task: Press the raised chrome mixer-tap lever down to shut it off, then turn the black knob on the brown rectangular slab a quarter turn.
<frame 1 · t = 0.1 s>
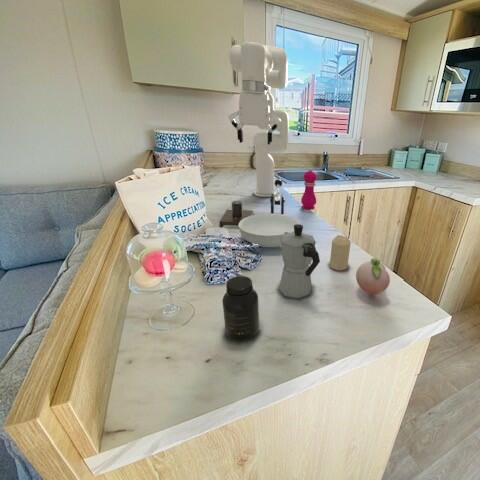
hand: (255, 143, 97), 31 cm above the countertop, tool pointing down, fingers open, 9 cm apart
pepper mill: (308, 210, 132), on the countertop
tap bracket: (277, 223, 113), on the countertop
candle: (338, 266, 85), on the countertop
decorative fruit: (369, 293, 73), on the countertop
serving bowl: (269, 241, 98), on the countertop
tap lever: (278, 191, 112), point 12 cm above the countertop, hinge at 28.0°
supplement bottle: (242, 330, 58), on the countertop
brown rectangular slab: (237, 221, 112), on the countertop
tap knob: (237, 208, 110), point 5 cm above the countertop, hinge at 0.0°
coffee maker: (297, 291, 72), on the countertop
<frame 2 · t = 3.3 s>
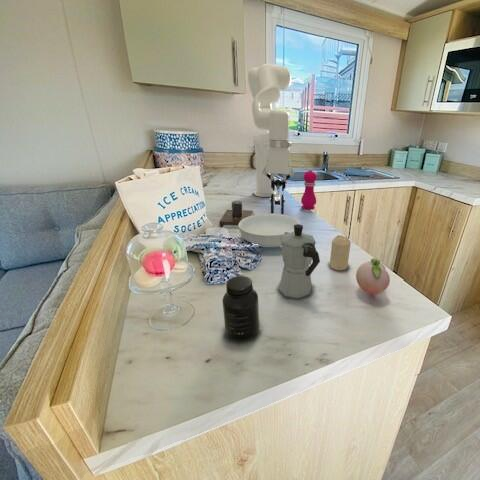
hand: (278, 189, 116), 12 cm above the countertop, tool pointing down, fingers closed on tap lever, 3 cm apart
tap lever: (278, 191, 112), point 12 cm above the countertop, hinge at 28.0°, touching gripper
everything else where it was.
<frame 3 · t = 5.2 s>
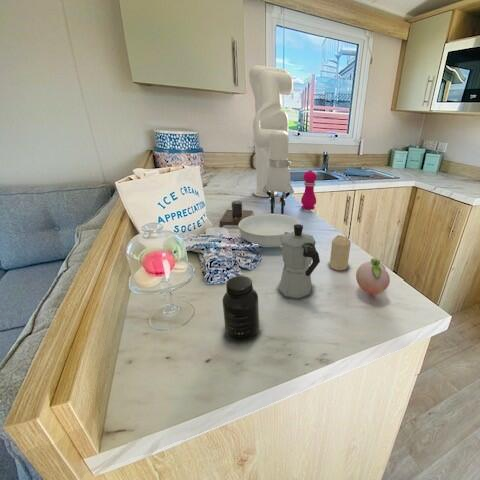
hand: (278, 206, 120), 4 cm above the countertop, tool pointing down, fingers closed on tap lever, 3 cm apart
tap lever: (277, 199, 114), point 9 cm above the countertop, hinge at -14.5°, touching gripper
everything else where it was.
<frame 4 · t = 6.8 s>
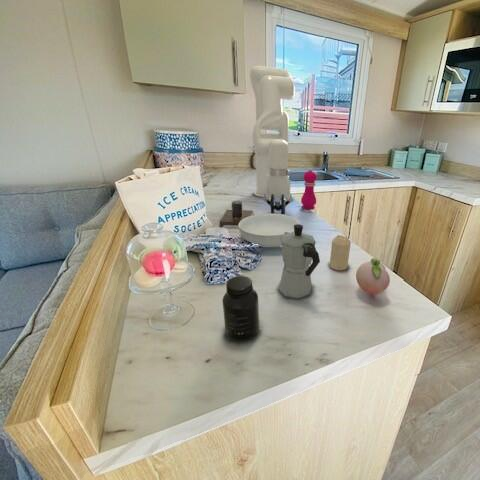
hand: (278, 214, 120), 1 cm above the countertop, tool pointing down, fingers closed on tap lever, 3 cm apart
tap lever: (277, 203, 114), point 7 cm above the countertop, hinge at -34.1°, touching gripper
everything else where it was.
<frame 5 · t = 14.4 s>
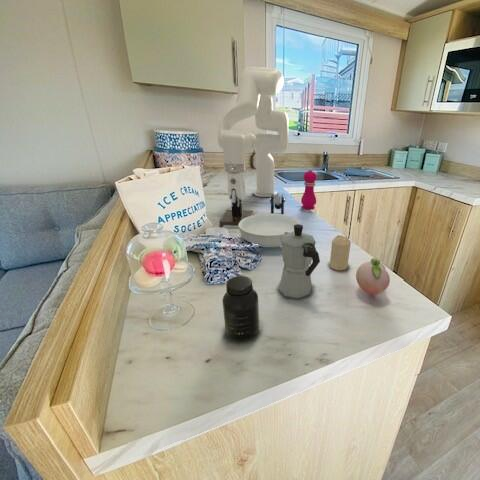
hand: (237, 213, 111), 3 cm above the countertop, tool pointing down, fingers closed on tap knob, 4 cm apart
tap lever: (277, 203, 114), point 7 cm above the countertop, hinge at -30.5°
tap knob: (237, 208, 110), point 5 cm above the countertop, hinge at 0.1°, touching gripper
everything else where it was.
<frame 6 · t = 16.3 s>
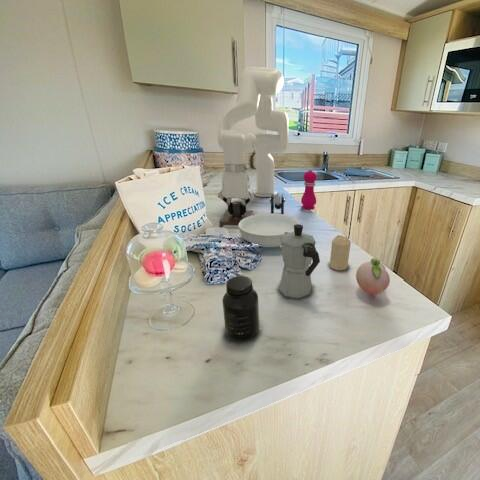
hand: (237, 213, 111), 3 cm above the countertop, tool pointing down, fingers closed on tap knob, 4 cm apart
tap knob: (237, 208, 110), point 5 cm above the countertop, hinge at 90.6°, touching gripper
everything else where it was.
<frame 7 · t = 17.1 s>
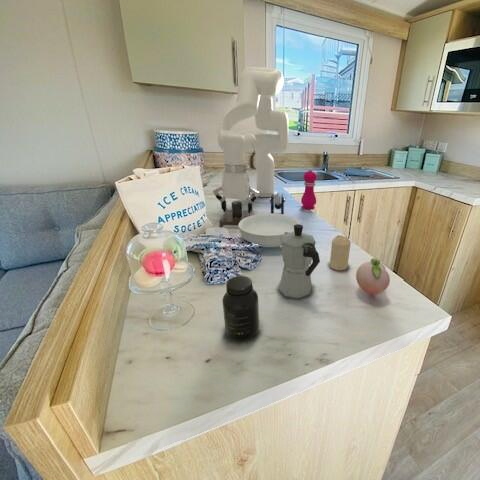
hand: (237, 211, 110), 4 cm above the countertop, tool pointing down, fingers open, 9 cm apart
tap knob: (237, 208, 110), point 5 cm above the countertop, hinge at 89.4°
everything else where it was.
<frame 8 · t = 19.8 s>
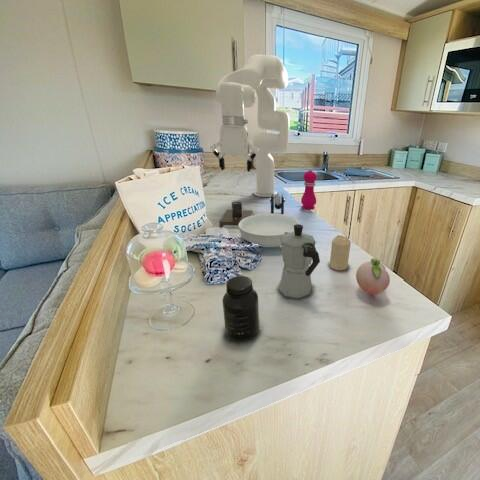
hand: (236, 170, 105), 20 cm above the countertop, tool pointing down, fingers open, 9 cm apart
nothing on the countertop moved.
at the end: tap lever at -30° (first picture: +28°); tap knob at +89° (first picture: +0°) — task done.
